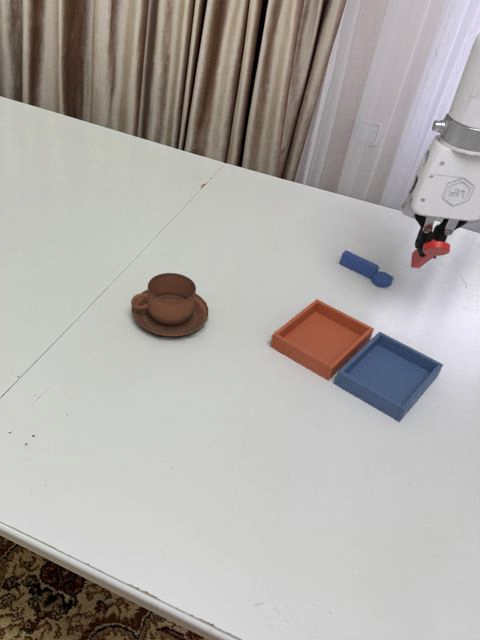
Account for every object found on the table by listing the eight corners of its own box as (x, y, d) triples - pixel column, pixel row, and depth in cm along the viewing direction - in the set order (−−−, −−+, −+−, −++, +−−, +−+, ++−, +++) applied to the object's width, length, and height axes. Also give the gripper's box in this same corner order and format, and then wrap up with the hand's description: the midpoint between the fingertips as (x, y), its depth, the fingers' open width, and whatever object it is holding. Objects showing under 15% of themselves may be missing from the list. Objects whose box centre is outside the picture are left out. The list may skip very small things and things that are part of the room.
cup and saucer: (156, 352, 92) (158, 320, 88) (118, 308, 99) (118, 276, 95) (222, 328, 97) (226, 297, 93) (181, 287, 104) (183, 257, 100)
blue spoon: (395, 281, 110) (399, 270, 108) (385, 290, 108) (389, 278, 106) (345, 258, 115) (349, 247, 113) (335, 266, 113) (339, 255, 111)
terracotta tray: (369, 340, 97) (374, 328, 96) (328, 380, 90) (332, 368, 88) (313, 310, 102) (316, 298, 100) (269, 346, 95) (272, 334, 93)
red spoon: (454, 249, 87) (455, 233, 88) (428, 246, 87) (429, 230, 88) (426, 269, 97) (427, 254, 97) (403, 266, 97) (404, 251, 98)
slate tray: (437, 376, 92) (443, 364, 90) (399, 422, 85) (405, 409, 83) (374, 343, 97) (379, 331, 95) (333, 383, 90) (337, 371, 88)
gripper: (418, 138, 78) (377, 260, 91) (541, 151, 78) (483, 272, 90) (408, 116, 84) (371, 234, 96) (522, 128, 84) (470, 245, 96)
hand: (425, 252), depth 93 cm, fingers closed on red spoon, 1 cm apart
